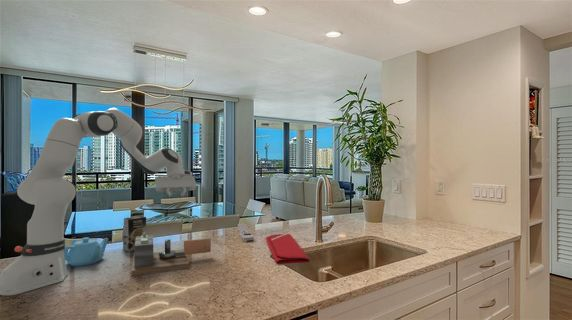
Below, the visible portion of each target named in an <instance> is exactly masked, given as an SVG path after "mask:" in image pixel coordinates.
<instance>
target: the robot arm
mask: <svg viewBox="0 0 572 320" xmlns="http://www.w3.org/2000/svg"><path fill="white" fill-rule="evenodd" d="M109 134H113V135H114V136H116V137H117V138H118V139H119V140H120V147H121V148H122V149H123V150H124V152H125V153H126V154H127V155H128V156H129V157H131V159H132V160H133V161H134V162H136V164H138V165H139V167H140V168H141V170H142V171H143V172H144V173H146V174H148V175H151V176H152V175H156V174H157V173H159V172H160V171H161V170H163V169H165V168H166V175H164V176H161V175H159V176H156V177H155V178H154V182H155V191H156V192H166V194H167V195H168V197H169V198H173V192H180V191H181V193H180V196H181V197H185V194H186V192H187V191H195V190H196V187H197V183H196V179H195V177H194V176H193V172H192V171H188V170H184V164H183V159H182V156H181V154H180V153H178V152H177V151H175V150H173V149H172V148H169V147H166V146H165V147H161V148H160V149H158V150H157V151H155V152H154V153H152V154H151V155H148V156H145V155H144V154H143V153H142V152H141V151H140V150H139V148H137V146H138V144H139V142H140V141H141V139H142V138H143V137H142V136H143V128H142V126H141V125H140V124H139V123H138V122H137V121H136V120H135V119H133V118H132V117H131V116H130V115H128V114H127V113H125V112H123V111H122V110H120V109H118V108H116V107H110V108H109V109H108V108H107V109H106V110H105V111H104V110H103V111H102V110H97V111H85V112H81V113H79V114H76V115H75V116H73V117H72V118H69V117H61V118H59V119H57V120H55V122H54V123H53V125H52V127H51V128H50V130H49V132H48V135H47V137H46V139H45V142H44V143H43V144H44V145H43V147H42V150H41V152H40V154H39V157H38V159H37V161H36V163H35V164H34V165H33V167H32V169H31V170H30V172H29V174H27V177H26V178H25V179H24V180H23V181H22V182H20V183H19V185H18V186H17V189H16V192H17V196H18V197H19V199H20V200H22V201H23V202H25V203H27V204H30V205H34V208H33V213H32V215H31V218H30V219H29V220H28V221H27V224H26V227H27V228H26V243H25V245H24V246H21V245H17V246H15V248H14V252H15V253H20V255H19V256H18V257H16V259H14V260H13V262H11V263H10V264H9V265H7V266H6V267H5V268H4V269H2V270H1V272H0V296H16V295H19V294H23V293H26V292H30V291H33V290H37V289H40V288H44V287H46V286H50V285H53V284H54V285H55V284H57V283H61V282H63V281H64V280H65V278H66V277H67V276H69V271H68V268H67V263H66V260H65V258H64V250H65V246H66V240H65V238H64V234H65V233H64V232H65V229H64V228H65V218H66V213H67V210H68V207H69V205H70V203H71V202H72V201H73V200H74V198H75V197H76V193H77V191H76V187H75V185H74V184H73V183H72V182H70V181H68V180H67V179H64V178H63V177H64V176H65V175H66V173H67V172H68V171H69V170H70V169H72V168H73V166H74V164H75V162H76V161H75V160H76V157H77V155H78V152H79V148H80V145H81V142H82V141H83V138H98V137H105V136H107V135H109Z"/></svg>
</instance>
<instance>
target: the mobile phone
mask: <svg viewBox="0 0 572 320" xmlns="http://www.w3.org/2000/svg"><path fill="white" fill-rule="evenodd" d="M237 228H238V232H239V237H240V238H241V239H242V240H243V241H244V242H245V243H247V242H249V241H253V240H254V235H253V234H252V233H251V232H250V231H249V230H248V224H247V223H237Z"/></svg>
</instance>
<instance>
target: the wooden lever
mask: <svg viewBox="0 0 572 320" xmlns="http://www.w3.org/2000/svg"><path fill="white" fill-rule="evenodd" d="M211 241H212V238H211V237H208V238H200V239H199V238H197V239H189V240H183V249H184V251H179V252H176V251H174V250H175V249H174V250H173V249H171V239H164V250H161V251H158V252H159V258H161V259H169V258H173V257H175V256H183V255H186V256H188V255H197V254H205V253H211V252H212V251H211V248H212V247H211V246H212V242H211Z"/></svg>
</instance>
